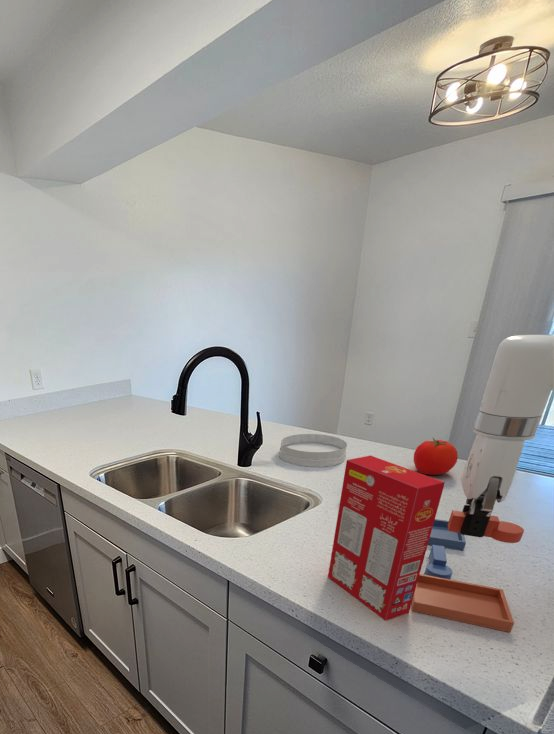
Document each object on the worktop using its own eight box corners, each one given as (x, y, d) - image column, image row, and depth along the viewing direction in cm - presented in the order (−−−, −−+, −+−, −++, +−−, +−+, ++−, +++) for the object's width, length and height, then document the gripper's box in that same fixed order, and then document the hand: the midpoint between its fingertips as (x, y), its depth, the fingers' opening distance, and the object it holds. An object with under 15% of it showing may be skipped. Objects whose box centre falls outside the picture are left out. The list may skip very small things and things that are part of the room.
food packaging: (408, 612, 77) (445, 482, 66) (385, 620, 76) (418, 488, 64) (348, 571, 90) (370, 455, 78) (327, 577, 88) (346, 459, 77)
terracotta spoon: (446, 522, 77) (451, 507, 76) (517, 533, 73) (523, 517, 71) (448, 533, 74) (453, 518, 72) (522, 545, 69) (529, 528, 68)
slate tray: (458, 530, 102) (461, 522, 101) (463, 550, 94) (466, 542, 94) (391, 520, 108) (392, 513, 108) (390, 538, 101) (391, 531, 100)
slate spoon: (446, 559, 92) (450, 547, 90) (451, 584, 84) (455, 571, 83) (422, 555, 94) (426, 543, 92) (424, 579, 86) (428, 567, 84)
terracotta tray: (499, 598, 80) (503, 589, 79) (510, 632, 72) (514, 623, 71) (411, 580, 86) (413, 572, 85) (411, 610, 78) (414, 601, 77)
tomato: (422, 463, 142) (430, 432, 137) (460, 473, 133) (470, 440, 128) (401, 472, 136) (408, 440, 132) (438, 482, 127) (447, 448, 123)
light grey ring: (346, 449, 158) (348, 435, 156) (344, 469, 141) (346, 454, 138) (284, 444, 167) (285, 432, 165) (274, 463, 149) (275, 449, 147)
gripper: (469, 411, 73) (441, 509, 82) (482, 436, 61) (447, 549, 69) (525, 413, 70) (489, 515, 78) (551, 441, 58) (505, 558, 66)
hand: (470, 530), depth 74 cm, fingers closed on terracotta spoon, 2 cm apart
